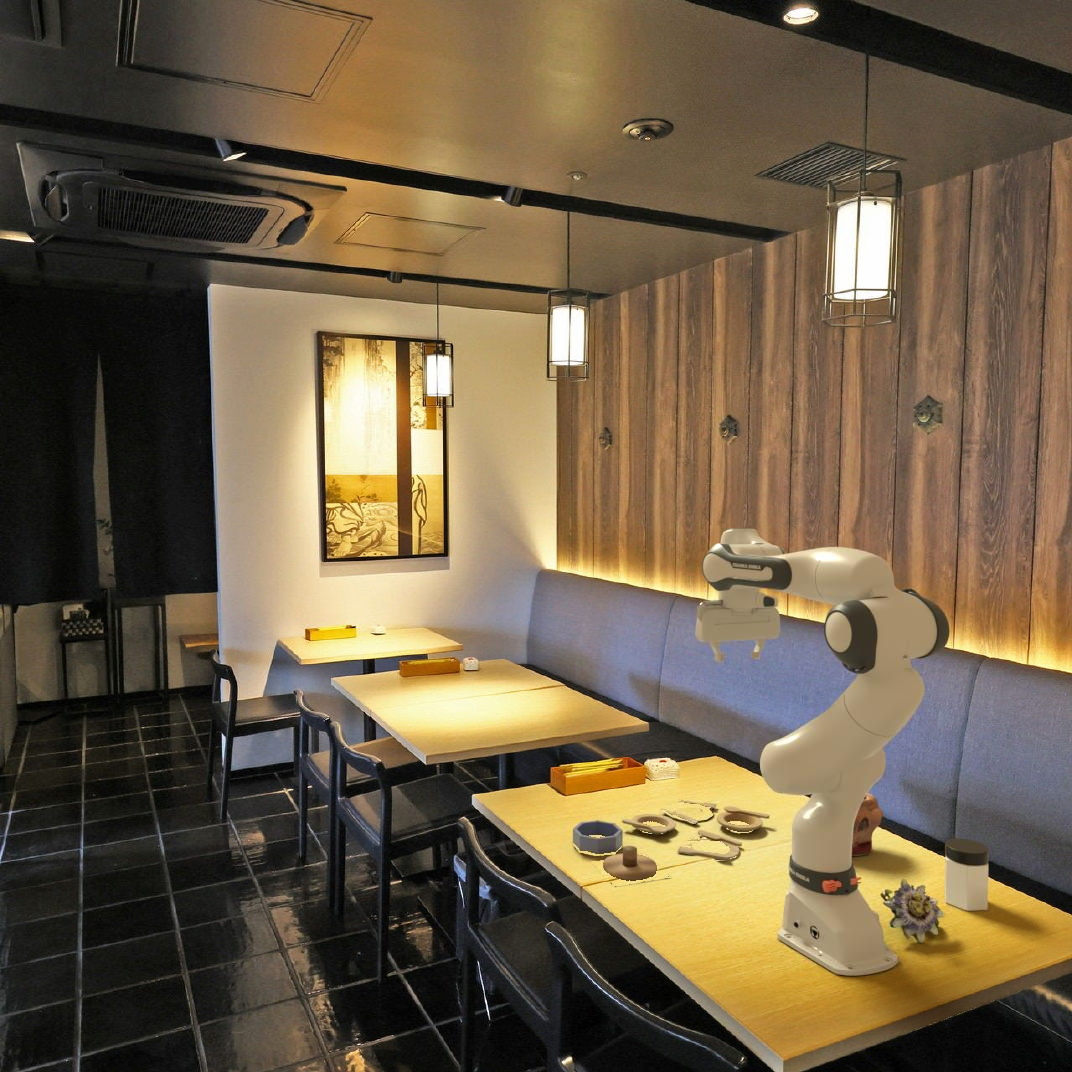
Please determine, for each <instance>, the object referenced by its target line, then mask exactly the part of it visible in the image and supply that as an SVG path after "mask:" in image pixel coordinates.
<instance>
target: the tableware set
mask: <svg viewBox="0 0 1072 1072" xmlns="http://www.w3.org/2000/svg"><path fill="white" fill-rule="evenodd" d="M680 800H681V801H679V802H684V803H690V804H700V805H702V806H705V807H711V808H710V809H713V808H714V809H716V807H717V806H716V805H718V804H717V803H712V802H696V801H691V800H685V799H680ZM684 800H685V801H684ZM660 810H667V809H664V808H663V807H662V808H660ZM723 810H724V811H725V812H720V813H719V814H718V815H716V821H717V823H718V824H719V825H721V826H723V827H724V828H725V827H726V828H728V829H729V830H733V831H737V832H749V831H752V830H757V829H759V828H761V827H762V826H763V824H764V823H763V819H764V820H765V819H770V818H771V817H770V816H771V815H770V814H767V813H762V812H757V811H751V810H745V809H741V808H739V807H736V806H732V805H731V806H730V805H729V806H724V807H723ZM666 812H668V813H669V814H671V815H676V816H677V815H678V817H680V818H682V819H685V820H688V821H690V822H693V823H694V824H695V823H699V822H698V820H696V819H693V818H691V816H688V815H686V814H684V813H676V812H675V813H674V812H671V811H669V810H667V811H666ZM647 821H649V822H650V821H651V822H652V821H653V822H657V823H660V824H662V825H665V826H666V827H662V826H650V825H647V824H643V822H647ZM730 821H741V822H745V823H747V824H749V825H735V824H731V823H728V822H730ZM621 822H622V823H623V824H626V825H629V826H632V827H633V828H634V829H635V830H638V831H639V830H641V831H644V832H648V833H652V834H661V833H665V832H667V831H668V832H670V831H672V830H674V829H675V828H676V827H677V824H676V821H675V819H673V818H671V817H669V816H667V815H666V816H665V815H662V814H656V813H643V814H637V815H634V816H633V817H631V819H627V818H622V819H621ZM726 828H725V829H726ZM668 832H667V833H668ZM665 834H666V833H665ZM697 834H698V835H700V836H701V837H706V838H707V839H699V840H698V838H697V839H695V840H694V838H695V837H692V838H693V839H691V838H690V839H691V840H688V839H686V840H687V841H700V840H710V841H720V842H721V841H722V843H724V844H725V845H726V846H729V848H730V851H729V852H728V853H726V854H719V853H711V852H704V851H703V850H697V849H694V848H693V846H692V845H693V844H691V843H690V844H689V845H688V844H687V845H688V846H691V848H688V847H683V845H682V846H681V845H680V846H679V847H678V849H677V852H676V853H679V854H683V855H684V854H685V855H689V856H692V855H693V856H696V857H700V858H704V859H710V860H711V859H713V860H714V861H716V860H727V861H731V860H730V858H733V857H735V856H737V855H738V854H739V855H740V848H739V847H742V846H743V842H742V841H738V840H736V839H732V838H729V837H726V836H723V835H719V834H717V833H713V832H710V831H707V830H704V829H698V830H697ZM687 845H686V846H687ZM684 846H685V845H684ZM739 855H738V856H739ZM738 856H737V857H738Z"/></svg>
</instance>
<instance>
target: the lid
mask: <svg viewBox="0 0 1072 1072" xmlns="http://www.w3.org/2000/svg"><path fill="white" fill-rule="evenodd" d="M639 854H640V853H638V848H637V847H636V846H634V845H624V846H622V853H617V854H615V855H610V856H606V857H605V858H604V859H605V860H604V862H603V868H604V870H605V871H606V872H607V873H609V874H610V875H611V876H613V877H616V878H618V879H621V880H626V881H629V880H630V881H636V880H643V879H647V878H649V877H653V876H654V875H655V874H656V871H657V865H658V864H657V863H656V861H655V860H653V859H652V858H651V857H650V856H648V857H646V856H643V855H639ZM656 864H657V865H656Z"/></svg>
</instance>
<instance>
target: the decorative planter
mask: <svg viewBox="0 0 1072 1072" xmlns="http://www.w3.org/2000/svg"><path fill="white" fill-rule="evenodd" d="M883 811H884V810H882V808H880V806H879V803H878V799H877V798H876V796H874V795H873V794H871V793H869V792H868V793H867V794H866V796H865V798H864V799H863V801H862V804H861V806H860V808H859V810H858V813H857V816H856V819H855V823H854V828H853V840H852V857H854V856H855V857H856V856H864V855H868V854H870V853H871V851H872V849H873V840H872V838H873V833H874V831H876V829H877V828H879V826H880V824H881V822H882V819H883V816H884V812H883Z"/></svg>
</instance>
